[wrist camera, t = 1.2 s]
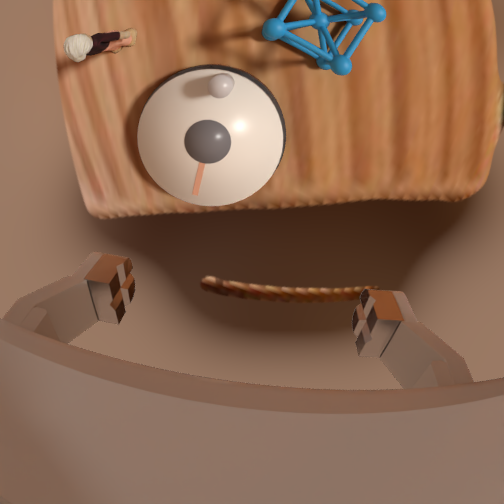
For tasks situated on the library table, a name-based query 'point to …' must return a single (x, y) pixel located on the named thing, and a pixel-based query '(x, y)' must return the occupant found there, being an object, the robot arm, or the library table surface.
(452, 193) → the library table surface
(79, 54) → the grandmother figurine
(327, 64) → the molecular structure
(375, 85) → the library table surface
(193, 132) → the turntable
